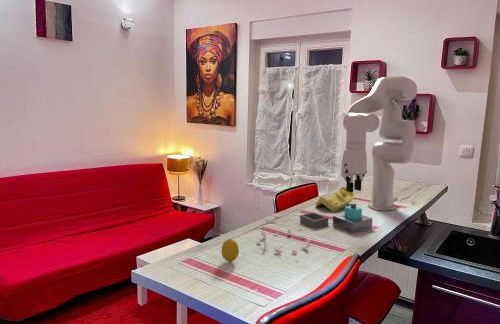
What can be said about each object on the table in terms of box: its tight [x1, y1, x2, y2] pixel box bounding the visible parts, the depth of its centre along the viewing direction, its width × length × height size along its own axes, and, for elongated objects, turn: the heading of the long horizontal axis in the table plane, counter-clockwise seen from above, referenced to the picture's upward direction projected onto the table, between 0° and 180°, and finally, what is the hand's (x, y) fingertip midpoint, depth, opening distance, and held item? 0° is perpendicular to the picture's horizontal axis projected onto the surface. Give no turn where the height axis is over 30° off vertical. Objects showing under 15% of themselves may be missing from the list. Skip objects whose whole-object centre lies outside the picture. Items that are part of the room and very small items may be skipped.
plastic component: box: [315, 186, 355, 212], centre depth 182 cm, size 20×8×10 cm
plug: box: [344, 203, 363, 221], centre depth 151 cm, size 4×6×10 cm
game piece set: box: [256, 227, 311, 255], centre depth 134 cm, size 19×20×4 cm
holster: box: [299, 211, 329, 229], centre depth 156 cm, size 8×9×3 cm
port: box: [332, 212, 373, 234], centre depth 152 cm, size 11×11×4 cm
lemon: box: [221, 238, 240, 263], centre depth 119 cm, size 6×6×8 cm
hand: (353, 190), depth 149 cm, fingers open, 3 cm apart
